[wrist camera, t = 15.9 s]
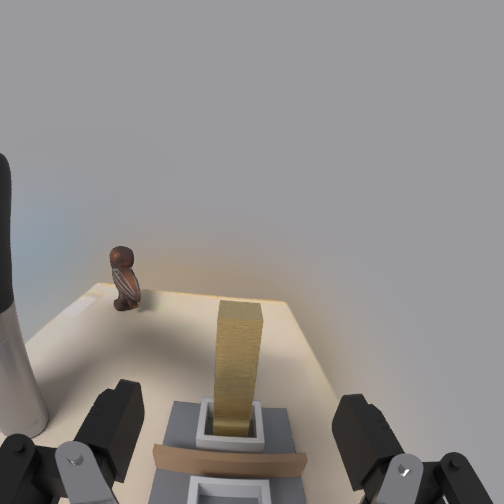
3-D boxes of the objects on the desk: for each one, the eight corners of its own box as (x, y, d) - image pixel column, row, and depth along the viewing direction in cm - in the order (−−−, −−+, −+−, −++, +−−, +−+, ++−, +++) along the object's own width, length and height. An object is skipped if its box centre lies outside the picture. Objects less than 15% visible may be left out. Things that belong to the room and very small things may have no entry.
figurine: (147, 315, 61) (145, 249, 59) (125, 318, 57) (122, 251, 56) (127, 300, 70) (125, 244, 68) (109, 303, 66) (106, 245, 64)
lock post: (245, 446, 28) (263, 320, 25) (212, 444, 28) (217, 317, 24) (244, 424, 32) (259, 303, 29) (214, 423, 32) (220, 300, 28)
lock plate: (315, 557, 13) (328, 547, 12) (140, 550, 12) (129, 539, 11) (285, 412, 36) (290, 391, 35) (174, 404, 35) (172, 382, 34)
